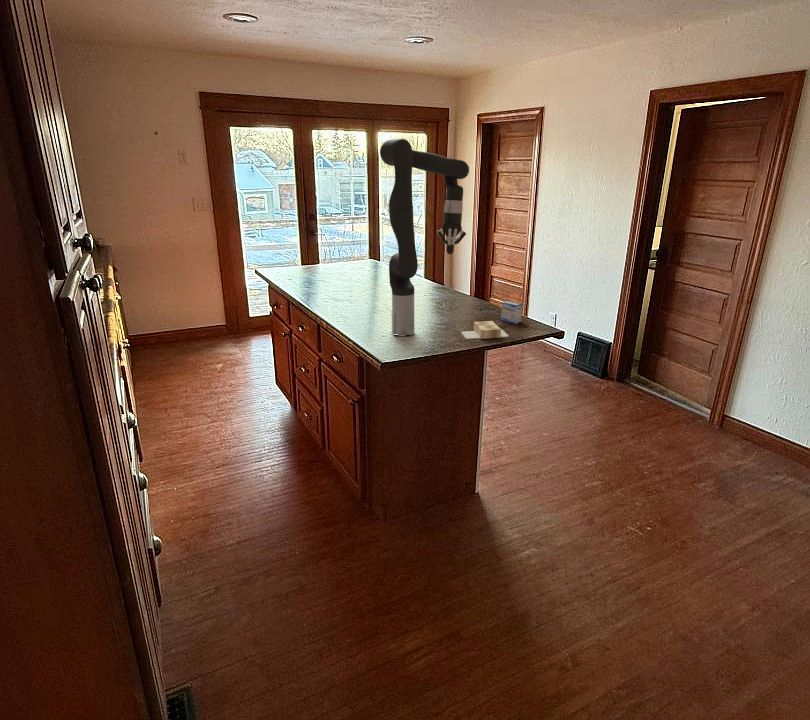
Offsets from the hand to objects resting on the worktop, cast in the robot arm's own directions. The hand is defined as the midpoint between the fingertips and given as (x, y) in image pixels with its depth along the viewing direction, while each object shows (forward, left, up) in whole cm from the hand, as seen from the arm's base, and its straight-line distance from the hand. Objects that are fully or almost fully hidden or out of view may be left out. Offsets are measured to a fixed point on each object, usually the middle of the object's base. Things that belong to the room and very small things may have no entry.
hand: (449, 253), depth 221 cm
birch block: (+12, -13, -28) cm, 34 cm away
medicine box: (+28, -3, -31) cm, 42 cm away
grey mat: (+11, -20, -31) cm, 38 cm away
